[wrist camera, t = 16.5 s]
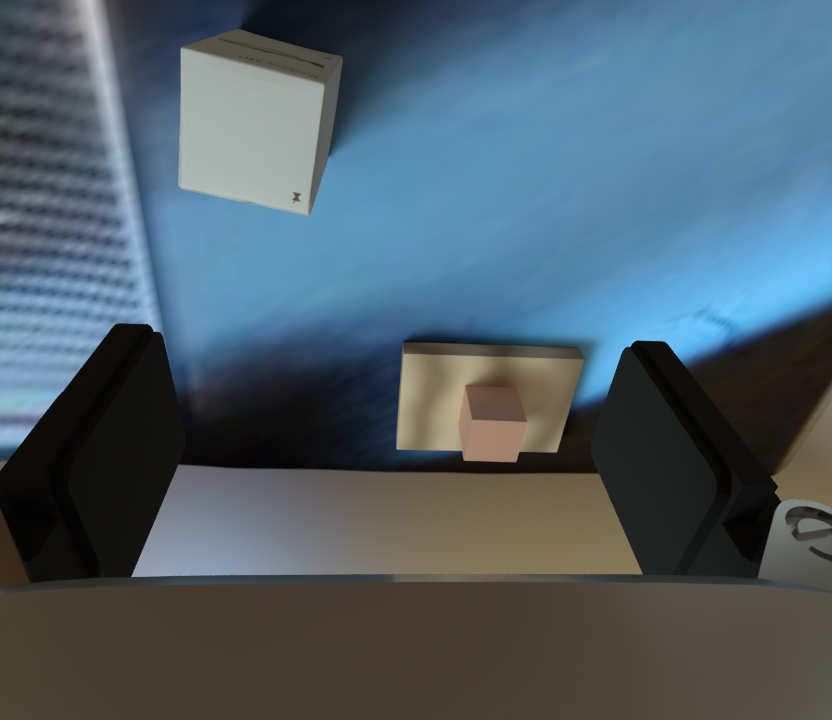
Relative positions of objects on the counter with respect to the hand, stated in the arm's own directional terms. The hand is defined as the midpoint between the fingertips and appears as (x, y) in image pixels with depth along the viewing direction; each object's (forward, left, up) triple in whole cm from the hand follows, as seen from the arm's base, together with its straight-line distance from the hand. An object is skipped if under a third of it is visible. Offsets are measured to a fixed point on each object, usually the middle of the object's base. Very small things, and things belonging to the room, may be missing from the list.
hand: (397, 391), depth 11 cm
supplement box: (+6, -4, -34) cm, 35 cm away
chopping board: (+8, +28, -34) cm, 45 cm away
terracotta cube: (+8, +28, -32) cm, 43 cm away
